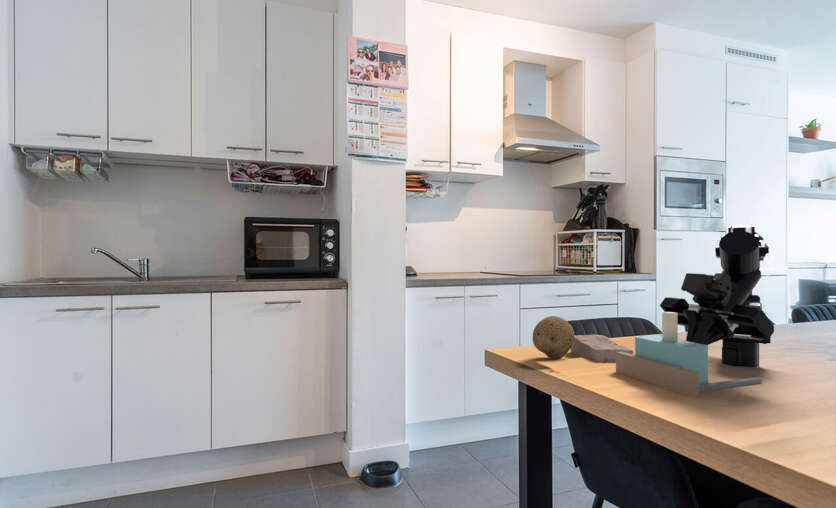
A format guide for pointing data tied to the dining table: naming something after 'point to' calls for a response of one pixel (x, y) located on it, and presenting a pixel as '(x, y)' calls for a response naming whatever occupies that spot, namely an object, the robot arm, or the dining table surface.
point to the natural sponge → (553, 337)
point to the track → (670, 375)
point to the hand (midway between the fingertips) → (687, 350)
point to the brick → (597, 348)
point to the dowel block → (674, 348)
